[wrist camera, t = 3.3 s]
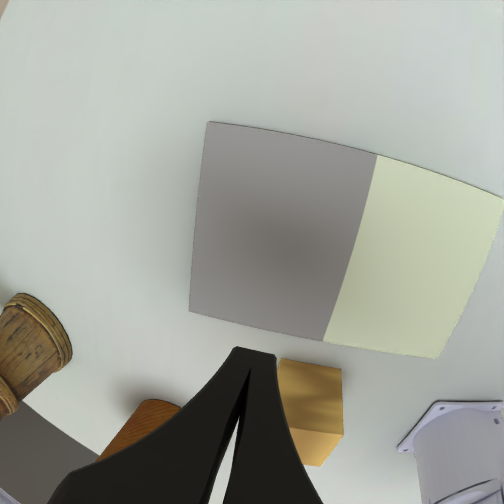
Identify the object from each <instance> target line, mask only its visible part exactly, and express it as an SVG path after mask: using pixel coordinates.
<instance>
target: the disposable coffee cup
mask: <svg viewBox="0 0 504 504" xmlns="http://www.w3.org/2000/svg"><path fill="white" fill-rule="evenodd" d="M180 409H181V408H179V407H177V406H175V405H173V404H171V403H168V402H165V401H161V400H146V401H144V402H142V403H141V404H140V406H139V407H138V408H137V409H136V411H135V412H134V413H133V414H132V416H131V417H130V418H129V420H128V421H127V422H126V423H125V425H124V426H123V427H122V428H121V430H120V431H119V432H118V434H117V435H116V436H115V437H114V439H113V440H112V441H111V442H110V444H109V445H108V446H107V447H106V449H105V450H104V451H103V453H102V454H101V455H100V456H99V458H98V459H97V460H96V461H95V462H97V461H100V460H102V459H104V458H106V457H108V456H110V455H112V454H114V453H116V452H118V451H120V450H122V449H124V448H126V447H127V446H129V445H131V444H133V443H135V442H136V441H138V440H140V439H141V438H143V437H144V436H146V435H147V434H149V433H150V432H152V431H153V430H155V429H156V428H157V427H159V426H160V425H162V424H163V423H164V422H166V421H167V420H168V419H169V418H171V417H172V416H173V415H174V414H176V413H177V412H178V411H179V410H180Z"/></svg>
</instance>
